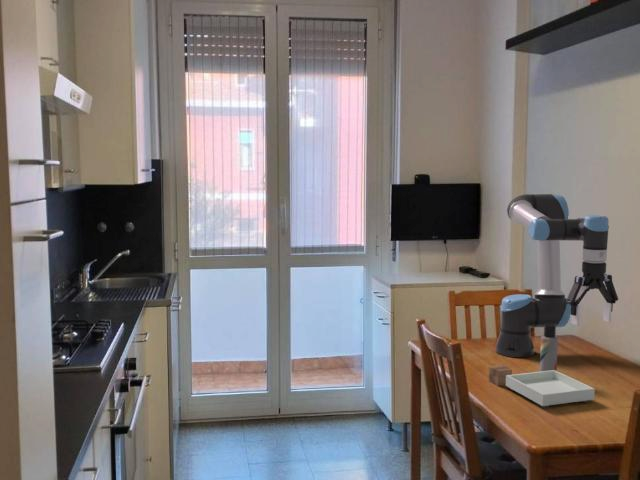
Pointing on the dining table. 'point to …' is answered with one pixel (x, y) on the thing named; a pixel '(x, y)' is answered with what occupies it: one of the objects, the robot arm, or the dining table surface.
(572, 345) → the dining table surface
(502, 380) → the walnut block
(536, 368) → the dining table surface
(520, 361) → the dining table surface
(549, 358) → the lotion bottle
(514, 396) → the dining table surface
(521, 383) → the tray
